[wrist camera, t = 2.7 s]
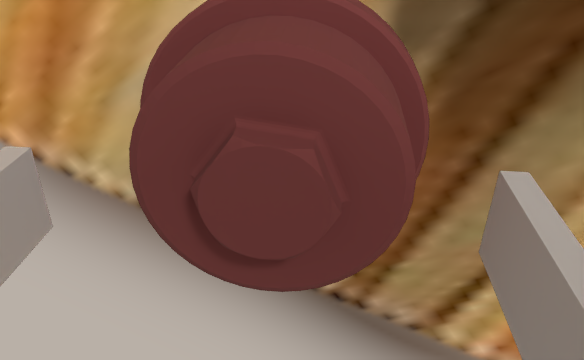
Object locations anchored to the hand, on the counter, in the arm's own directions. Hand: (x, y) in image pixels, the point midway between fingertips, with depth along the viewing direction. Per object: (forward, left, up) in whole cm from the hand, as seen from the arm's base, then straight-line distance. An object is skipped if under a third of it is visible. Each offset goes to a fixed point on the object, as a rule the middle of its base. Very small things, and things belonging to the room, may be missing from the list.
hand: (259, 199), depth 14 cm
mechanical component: (0, 0, -12) cm, 12 cm away
